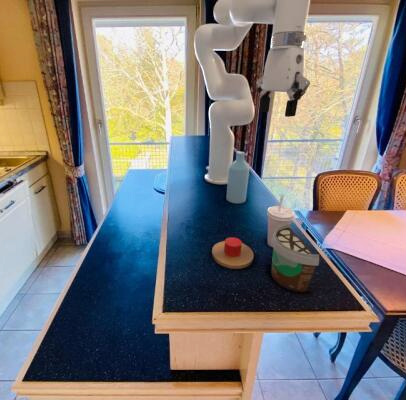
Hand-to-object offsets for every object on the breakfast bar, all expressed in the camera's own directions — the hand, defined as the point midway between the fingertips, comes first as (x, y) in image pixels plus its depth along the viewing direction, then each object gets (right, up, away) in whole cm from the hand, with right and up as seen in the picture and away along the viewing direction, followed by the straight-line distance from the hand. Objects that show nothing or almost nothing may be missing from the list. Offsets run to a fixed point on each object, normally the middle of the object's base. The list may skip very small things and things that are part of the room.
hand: (276, 114), depth 73 cm
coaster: (-14, -38, -8) cm, 41 cm away
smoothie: (-2, -36, -4) cm, 36 cm away
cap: (-14, -37, -9) cm, 40 cm away
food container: (-5, -41, -15) cm, 44 cm away
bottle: (-6, -24, +21) cm, 32 cm away
